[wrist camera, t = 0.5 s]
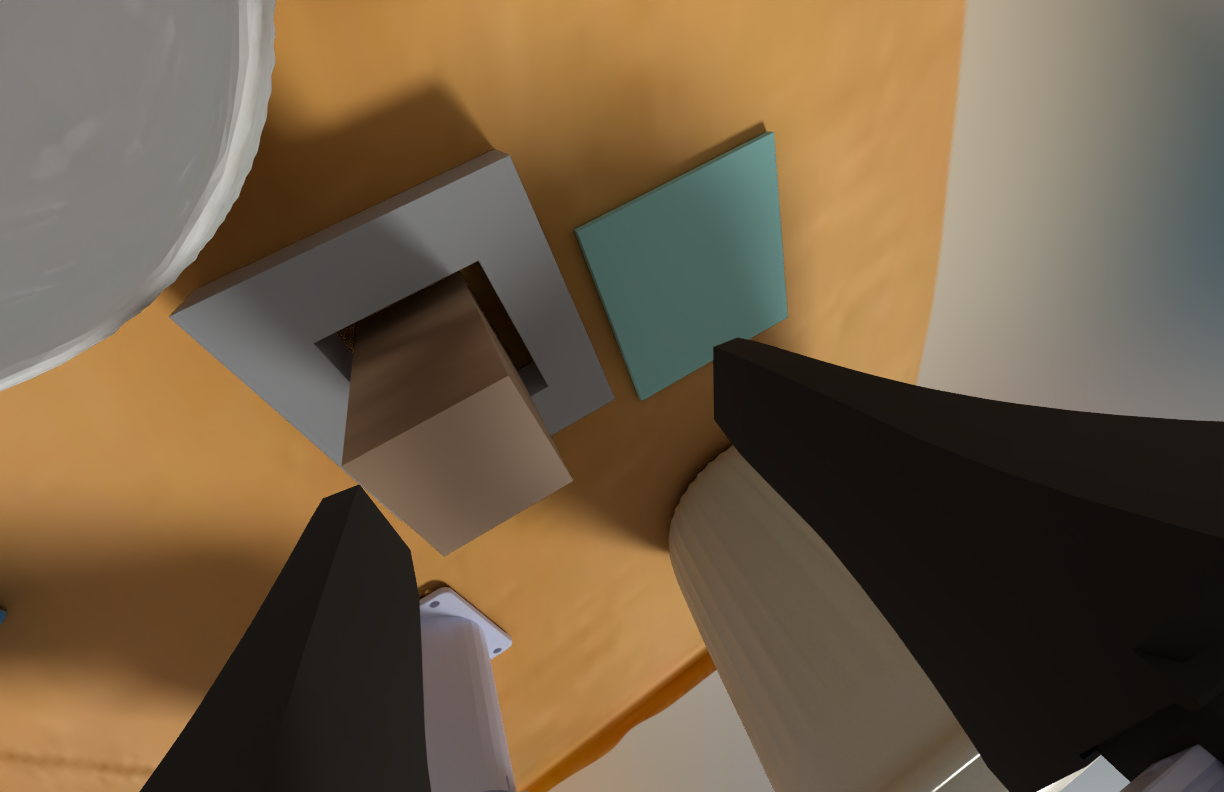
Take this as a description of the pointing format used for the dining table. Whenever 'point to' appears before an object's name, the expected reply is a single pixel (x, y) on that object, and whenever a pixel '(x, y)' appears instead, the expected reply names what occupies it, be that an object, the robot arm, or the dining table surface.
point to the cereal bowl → (117, 157)
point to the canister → (810, 650)
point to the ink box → (2, 615)
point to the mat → (691, 264)
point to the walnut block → (445, 419)
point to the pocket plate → (397, 299)
